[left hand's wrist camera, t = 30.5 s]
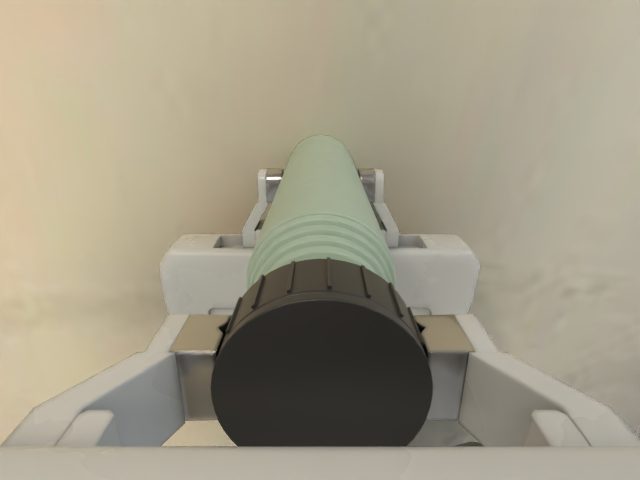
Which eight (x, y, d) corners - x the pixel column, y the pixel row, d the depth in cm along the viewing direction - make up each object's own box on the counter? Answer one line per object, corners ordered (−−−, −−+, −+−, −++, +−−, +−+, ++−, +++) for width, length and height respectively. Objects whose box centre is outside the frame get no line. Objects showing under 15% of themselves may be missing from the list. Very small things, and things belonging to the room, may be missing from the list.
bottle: (311, 121, 29) (289, 230, 8) (365, 159, 30) (473, 346, 9) (276, 176, 31) (176, 393, 9) (328, 210, 32) (346, 478, 10)
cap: (190, 344, 10) (161, 400, 8) (319, 215, 9) (319, 248, 7) (322, 442, 11) (323, 509, 10) (454, 338, 10) (482, 393, 8)
